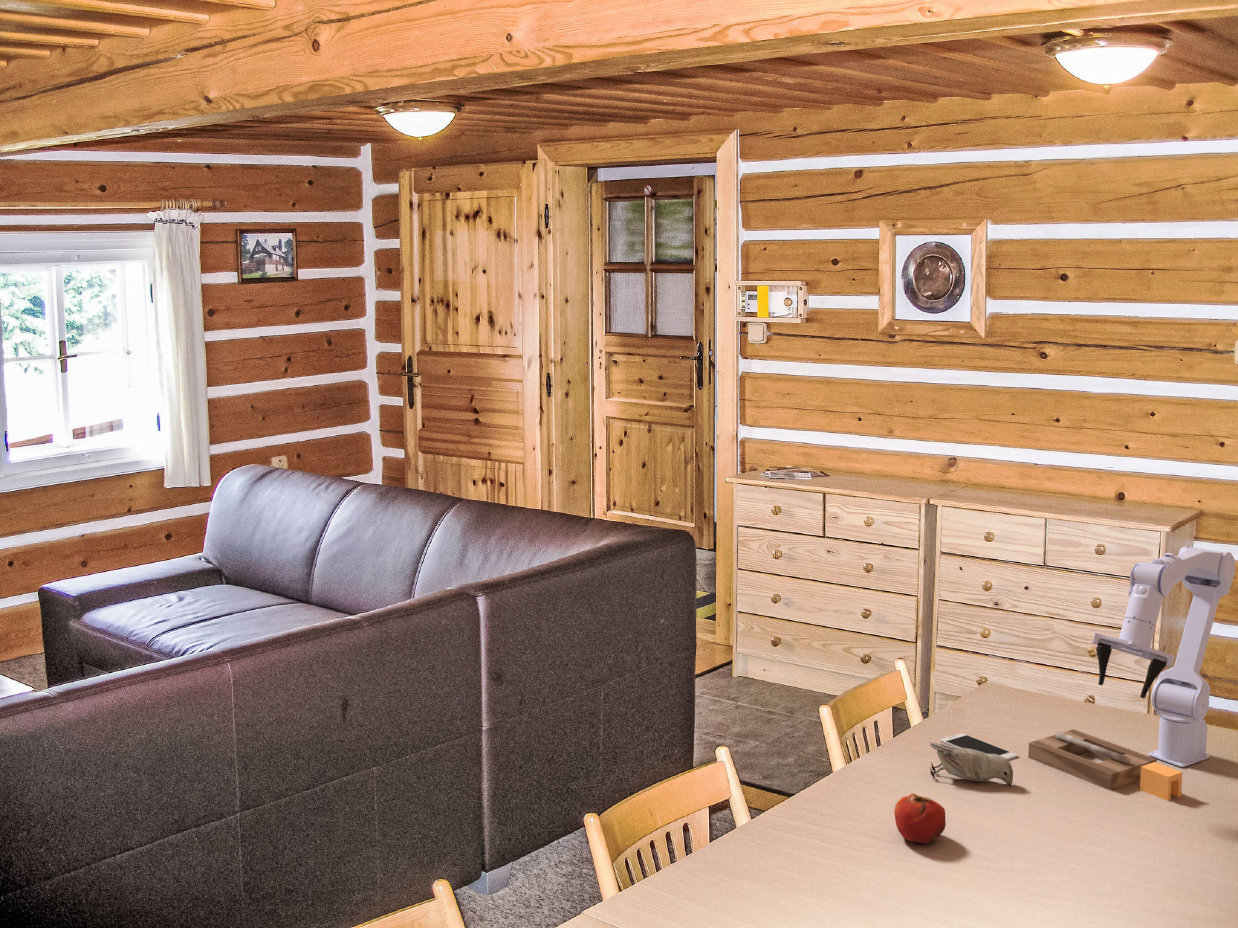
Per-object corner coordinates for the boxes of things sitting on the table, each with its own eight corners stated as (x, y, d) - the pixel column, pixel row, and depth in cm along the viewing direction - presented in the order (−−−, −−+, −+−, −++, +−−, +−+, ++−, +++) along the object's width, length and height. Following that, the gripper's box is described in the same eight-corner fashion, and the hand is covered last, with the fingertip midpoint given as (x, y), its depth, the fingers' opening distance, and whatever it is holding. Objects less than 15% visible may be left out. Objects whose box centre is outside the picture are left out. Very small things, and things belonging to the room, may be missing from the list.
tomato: (911, 822, 231) (912, 781, 230) (955, 838, 224) (956, 795, 223) (882, 838, 224) (883, 796, 223) (927, 855, 218) (928, 811, 217)
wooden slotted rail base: (1073, 743, 268) (1074, 722, 267) (1155, 774, 251) (1156, 752, 250) (1028, 757, 261) (1029, 736, 260) (1110, 789, 244) (1111, 767, 243)
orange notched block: (1153, 785, 246) (1154, 761, 245) (1181, 795, 241) (1182, 771, 240) (1139, 789, 244) (1141, 766, 243) (1167, 800, 239) (1168, 776, 238)
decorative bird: (1012, 791, 244) (1013, 754, 243) (927, 782, 249) (928, 746, 248) (1012, 780, 249) (1013, 745, 248) (929, 772, 254) (930, 737, 253)
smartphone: (995, 765, 257) (995, 761, 257) (938, 743, 270) (939, 738, 270) (1018, 758, 261) (1019, 754, 261) (962, 736, 274) (962, 732, 274)
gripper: (1102, 608, 239) (1084, 676, 237) (1182, 631, 235) (1164, 701, 232) (1099, 614, 246) (1080, 680, 243) (1177, 636, 241) (1159, 704, 239)
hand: (1121, 690), depth 238 cm, fingers open, 7 cm apart
